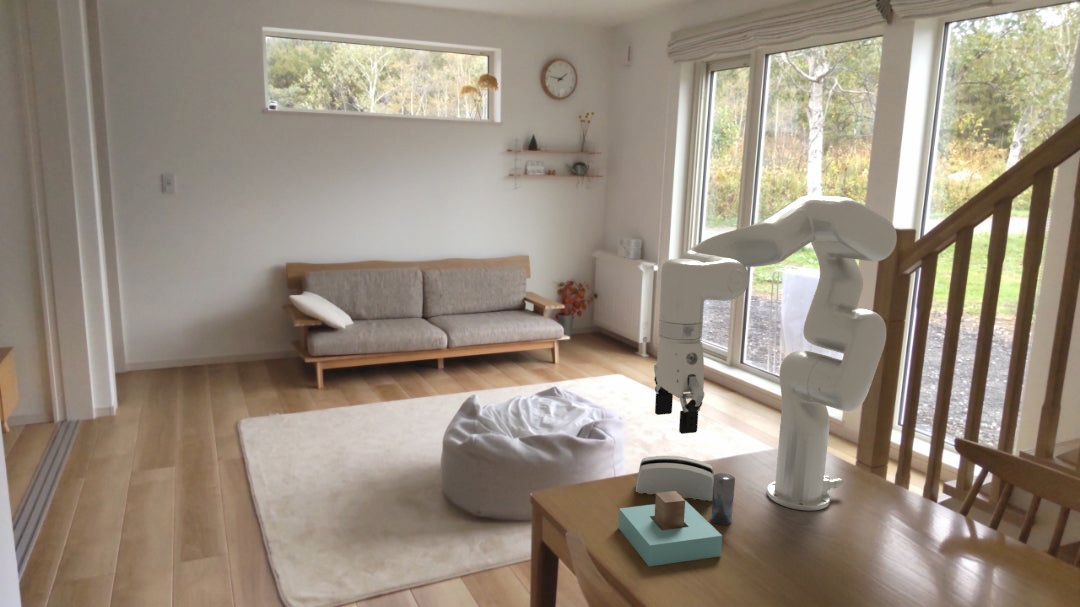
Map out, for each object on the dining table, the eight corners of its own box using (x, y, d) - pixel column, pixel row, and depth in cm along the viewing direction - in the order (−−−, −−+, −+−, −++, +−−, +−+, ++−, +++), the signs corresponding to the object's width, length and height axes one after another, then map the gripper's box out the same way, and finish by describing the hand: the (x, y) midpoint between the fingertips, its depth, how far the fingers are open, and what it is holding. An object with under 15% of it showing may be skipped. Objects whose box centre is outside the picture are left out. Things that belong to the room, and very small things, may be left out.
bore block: (684, 519, 142) (685, 500, 142) (720, 556, 129) (722, 535, 128) (618, 527, 139) (619, 508, 138) (648, 566, 125) (649, 545, 125)
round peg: (725, 514, 145) (728, 472, 143) (735, 523, 141) (739, 480, 139) (707, 516, 144) (710, 474, 142) (717, 526, 140) (720, 482, 138)
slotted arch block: (715, 491, 155) (718, 456, 150) (714, 507, 151) (718, 471, 146) (636, 482, 159) (637, 447, 154) (634, 498, 155) (635, 463, 150)
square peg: (672, 535, 136) (675, 490, 135) (682, 546, 132) (685, 500, 131) (653, 537, 135) (655, 493, 133) (662, 548, 131) (665, 502, 130)
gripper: (724, 340, 119) (718, 438, 122) (677, 318, 136) (672, 405, 139) (683, 343, 117) (678, 442, 120) (640, 320, 133) (636, 408, 137)
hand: (675, 422), depth 130 cm, fingers open, 9 cm apart
